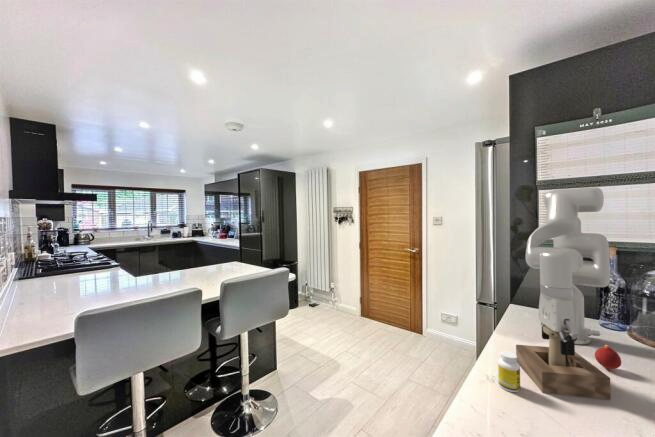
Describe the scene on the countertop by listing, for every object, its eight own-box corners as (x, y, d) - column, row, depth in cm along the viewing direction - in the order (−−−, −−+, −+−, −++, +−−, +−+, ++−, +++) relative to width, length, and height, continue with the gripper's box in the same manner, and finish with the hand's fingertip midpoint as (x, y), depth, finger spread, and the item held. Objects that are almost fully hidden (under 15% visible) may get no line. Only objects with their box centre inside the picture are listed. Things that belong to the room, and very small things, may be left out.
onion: (613, 366, 87) (612, 342, 87) (626, 376, 81) (626, 350, 81) (591, 363, 89) (590, 339, 89) (602, 373, 83) (601, 348, 83)
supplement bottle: (521, 395, 75) (520, 361, 74) (498, 389, 77) (497, 356, 77) (519, 384, 79) (518, 352, 79) (498, 379, 82) (497, 348, 82)
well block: (571, 366, 87) (570, 348, 87) (610, 399, 72) (610, 377, 72) (516, 361, 91) (516, 344, 91) (542, 392, 75) (541, 371, 75)
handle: (567, 386, 78) (566, 335, 78) (541, 375, 83) (540, 328, 83) (574, 380, 80) (572, 331, 80) (548, 370, 86) (547, 324, 86)
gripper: (527, 283, 90) (528, 333, 91) (559, 300, 74) (560, 360, 74) (553, 284, 89) (554, 334, 89) (591, 301, 72) (592, 363, 72)
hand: (557, 346), depth 81 cm, fingers open, 9 cm apart
